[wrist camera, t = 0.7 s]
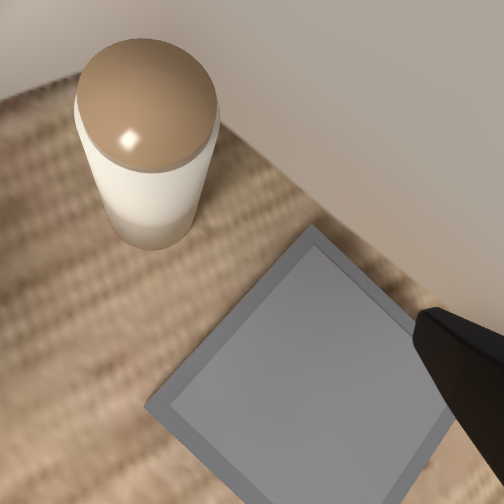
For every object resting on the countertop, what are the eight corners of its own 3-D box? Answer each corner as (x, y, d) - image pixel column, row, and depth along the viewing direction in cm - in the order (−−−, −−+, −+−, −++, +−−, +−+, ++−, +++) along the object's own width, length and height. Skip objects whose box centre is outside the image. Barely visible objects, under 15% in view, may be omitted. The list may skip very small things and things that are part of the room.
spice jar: (212, 209, 24) (252, 105, 14) (152, 268, 22) (149, 199, 13) (151, 152, 24) (149, 7, 14) (87, 207, 22) (34, 91, 13)
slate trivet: (464, 381, 25) (480, 382, 23) (330, 581, 21) (341, 595, 20) (304, 229, 25) (312, 223, 23) (144, 403, 21) (143, 407, 20)
